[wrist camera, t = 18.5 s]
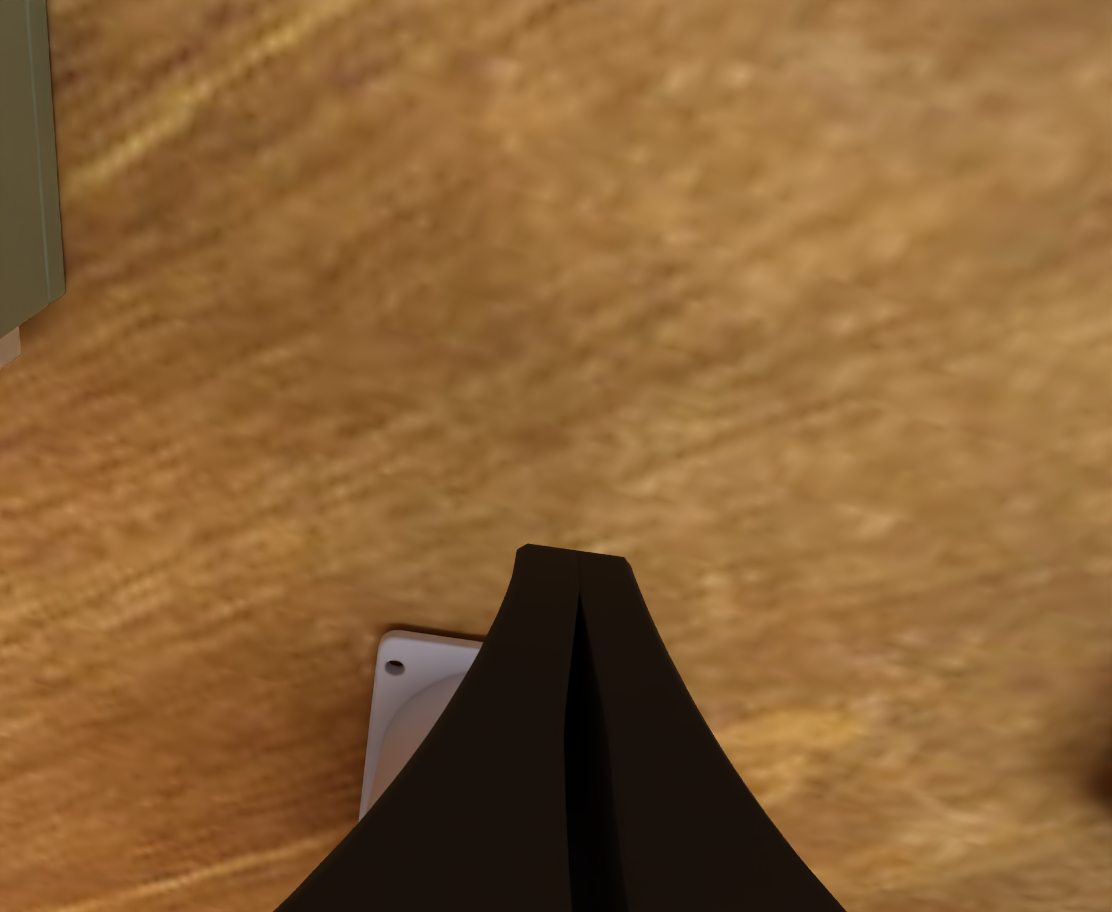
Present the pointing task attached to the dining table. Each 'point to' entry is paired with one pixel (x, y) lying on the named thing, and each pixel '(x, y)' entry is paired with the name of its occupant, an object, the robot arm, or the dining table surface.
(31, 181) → the cabinet
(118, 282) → the dining table surface
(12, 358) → the drawer
